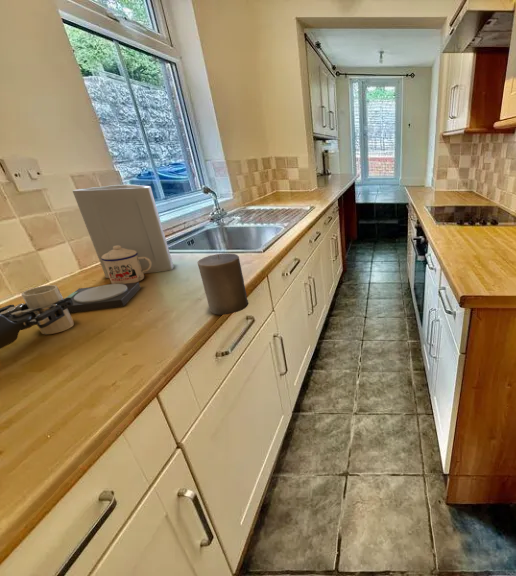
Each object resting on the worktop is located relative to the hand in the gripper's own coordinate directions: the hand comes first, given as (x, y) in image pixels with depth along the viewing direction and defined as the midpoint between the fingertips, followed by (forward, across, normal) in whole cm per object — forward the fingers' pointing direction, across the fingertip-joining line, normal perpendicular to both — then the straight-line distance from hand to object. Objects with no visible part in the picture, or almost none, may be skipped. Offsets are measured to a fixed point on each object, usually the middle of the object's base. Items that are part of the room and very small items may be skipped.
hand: (57, 301), depth 76 cm
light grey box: (+40, +10, +6) cm, 41 cm away
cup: (-2, 0, +6) cm, 6 cm away
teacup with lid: (+28, +4, +6) cm, 29 cm away
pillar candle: (+10, -36, +6) cm, 38 cm away
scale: (+13, +2, +6) cm, 14 cm away
